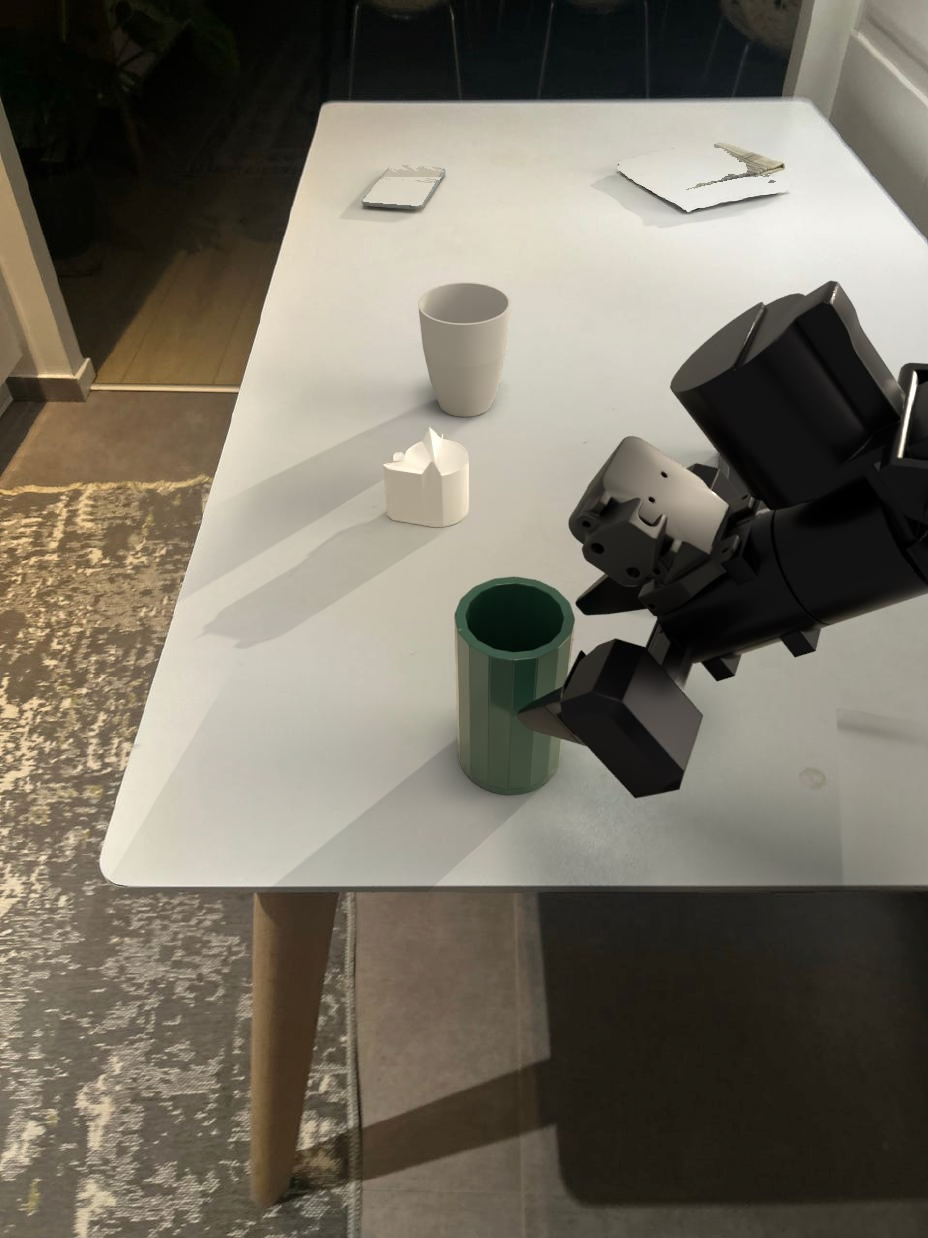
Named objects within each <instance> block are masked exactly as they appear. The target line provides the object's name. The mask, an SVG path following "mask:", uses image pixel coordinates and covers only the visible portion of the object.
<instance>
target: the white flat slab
mask: <svg viewBox="0 0 928 1238" xmlns="http://www.w3.org/2000/svg"><path fill="white" fill-rule="evenodd" d="M401 165H402V166H403V167H404V168H406V169H408V170H403V169H399V170H396V169H393V170H395V171H397V172H394V171H392V170H391V169H392V168H391V169H389V167H387V169H386V170H385V171H384V173H382V175H381V176H380V177H379V179H380V178H381V177H382V178H381V179H383V178H384V177H443V178H444V177H445V176H446V174H447V173H446V169H445V168H443V167H434V166H431V167H432V168H434V169H437V170H435V171H434V170H431V169H427V168H424V167H425V166H420V167H418V168H416V169H417V170H419V171H415V170H413V169H412V168H410V167H408V166H409V165H403V164H401ZM421 167H422V168H421ZM442 168H443V169H442ZM409 170H410V171H409ZM438 170H441V171H438ZM442 171H444V172H442ZM385 179H387V178H385ZM426 179H430V178H426ZM388 180H390V179H388ZM402 180H404V179H402ZM430 180H435V181H436V182H435V181H430ZM430 180H424V181H429V182H424V181H420V180H415V181H418V182H424V183H432V182H434V183H435V184H434V186H433V187H432V189H431V191H430V192H429V194H428V196H427V197H426V199H425V200H424V202H423V204H422V205H419V206H411V205H397V204H383V203H369V202H363V201H362V200H361V204H362V205H363V206H365V207H374V208H375V207H376V208H388V209H389V208H390V209H402V210H415V211H416V210H421V209H422V208H424V206H425V204H426V203H427V201H428V200H429V198H430V197H431V195H433V193H434V191H435V190H436V188H437V187H438V185H439V184H440V182H441V181H442V180H436V179H430Z"/></svg>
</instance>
